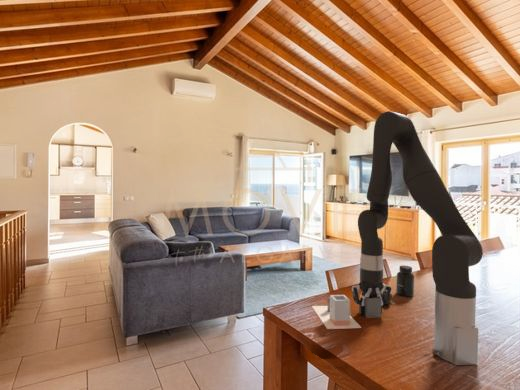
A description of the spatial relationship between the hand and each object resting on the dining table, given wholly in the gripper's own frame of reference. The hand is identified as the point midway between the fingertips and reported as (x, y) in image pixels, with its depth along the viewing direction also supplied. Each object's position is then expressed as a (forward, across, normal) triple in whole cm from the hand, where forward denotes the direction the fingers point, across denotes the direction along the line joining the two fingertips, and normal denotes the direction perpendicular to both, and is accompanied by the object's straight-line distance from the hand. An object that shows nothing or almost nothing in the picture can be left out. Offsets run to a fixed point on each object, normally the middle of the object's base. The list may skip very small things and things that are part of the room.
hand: (370, 315), depth 104 cm
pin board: (+1, -13, 0) cm, 13 cm away
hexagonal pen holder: (0, -13, -5) cm, 14 cm away
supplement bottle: (+1, +26, +22) cm, 34 cm away
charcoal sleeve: (+1, 0, 0) cm, 1 cm away
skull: (+2, +11, +15) cm, 18 cm away
